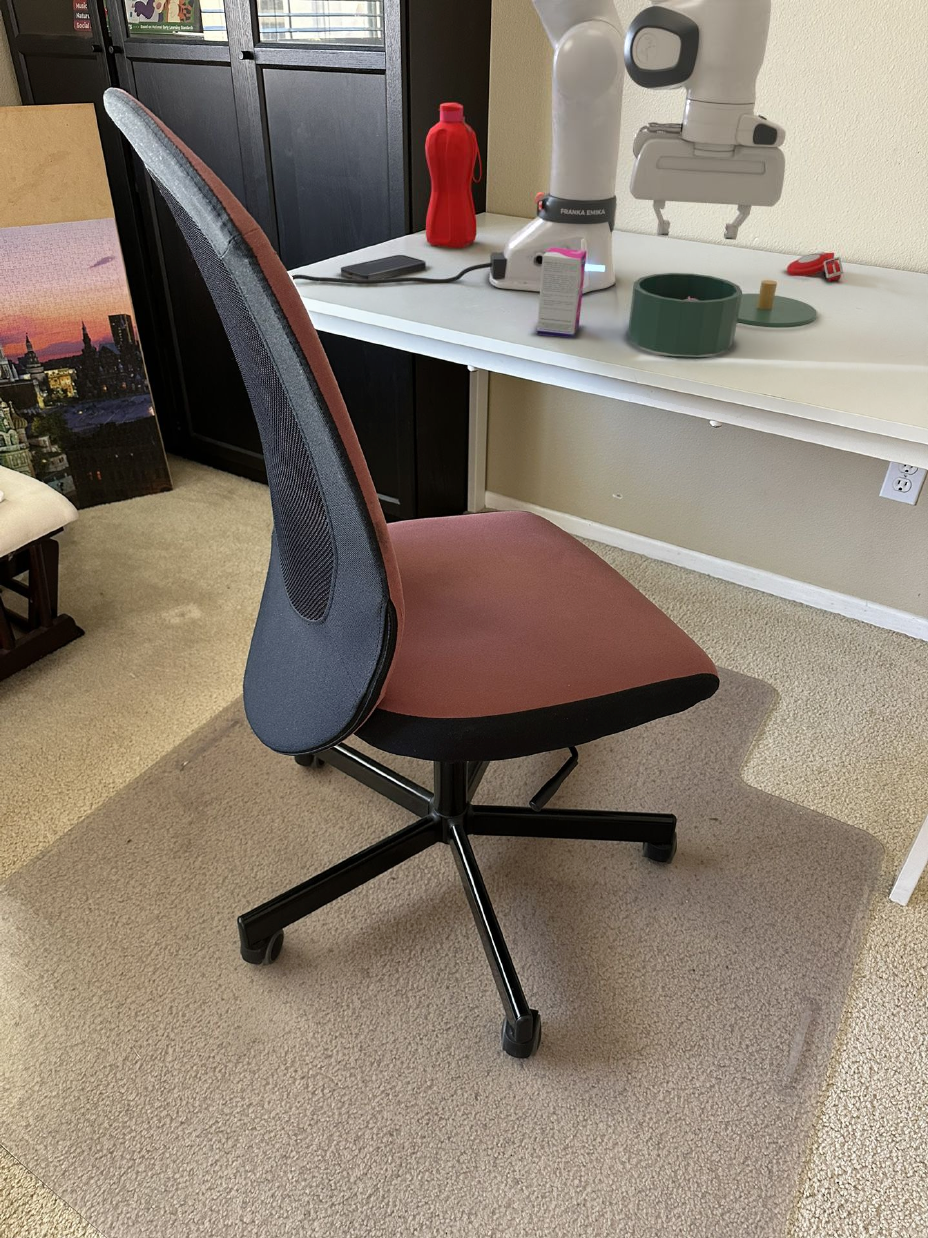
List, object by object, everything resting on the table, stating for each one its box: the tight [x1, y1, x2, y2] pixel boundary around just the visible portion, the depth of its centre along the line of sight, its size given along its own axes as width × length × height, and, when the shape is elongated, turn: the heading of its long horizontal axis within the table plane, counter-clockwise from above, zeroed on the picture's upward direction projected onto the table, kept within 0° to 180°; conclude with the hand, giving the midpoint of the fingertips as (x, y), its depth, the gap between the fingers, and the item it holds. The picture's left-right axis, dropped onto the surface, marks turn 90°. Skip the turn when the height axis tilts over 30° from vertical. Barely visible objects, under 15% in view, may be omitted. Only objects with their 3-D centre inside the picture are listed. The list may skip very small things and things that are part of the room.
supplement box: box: [536, 248, 587, 339], centre depth 135 cm, size 6×6×12 cm
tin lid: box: [737, 279, 818, 328], centre depth 144 cm, size 16×16×5 cm
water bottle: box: [424, 102, 482, 249], centre depth 176 cm, size 9×11×25 cm
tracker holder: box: [786, 251, 845, 282], centre depth 164 cm, size 12×4×10 cm
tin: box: [627, 272, 743, 360], centre depth 132 cm, size 15×15×8 cm
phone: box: [340, 254, 427, 280], centre depth 165 cm, size 8×1×15 cm
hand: (696, 236), depth 126 cm, fingers open, 8 cm apart
